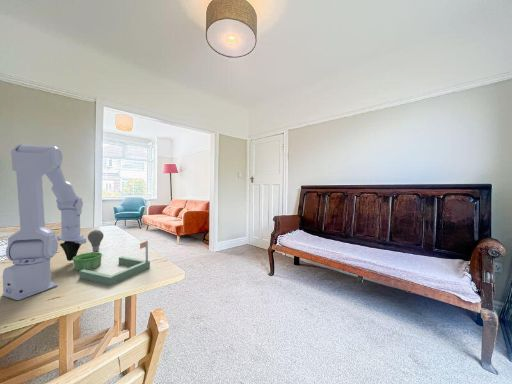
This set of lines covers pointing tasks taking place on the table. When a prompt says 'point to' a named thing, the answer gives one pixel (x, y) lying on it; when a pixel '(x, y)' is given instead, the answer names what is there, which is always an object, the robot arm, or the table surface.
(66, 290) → the table surface
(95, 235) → the light bulb
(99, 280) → the green tray with flag
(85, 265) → the ramekin
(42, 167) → the robot arm
